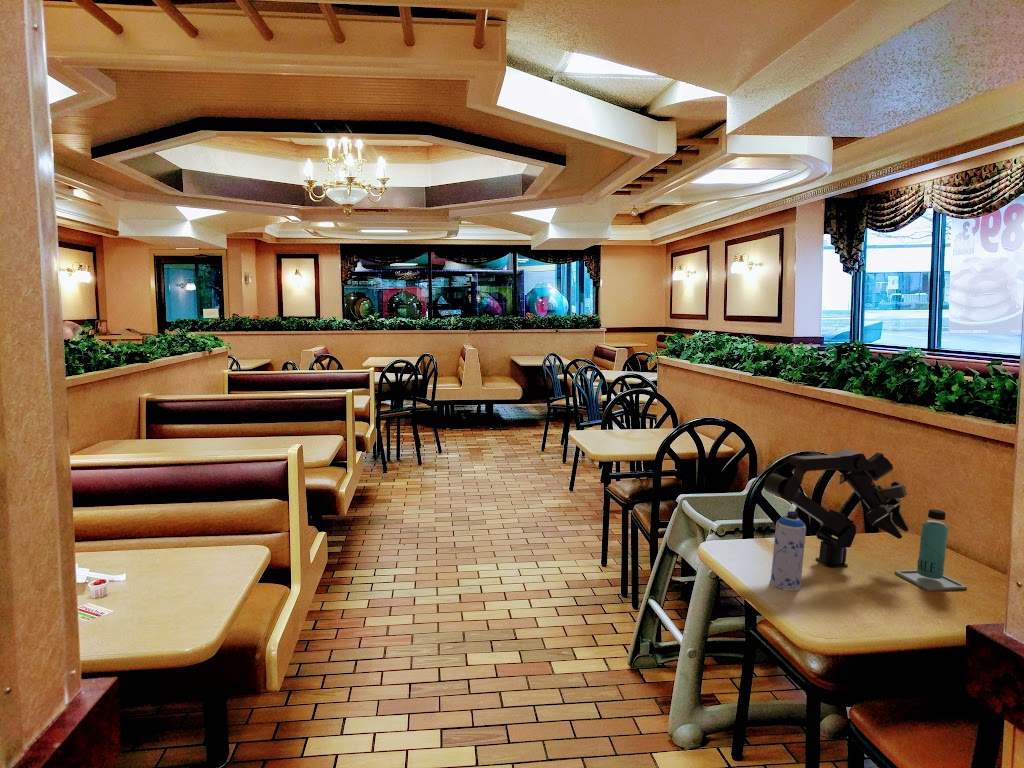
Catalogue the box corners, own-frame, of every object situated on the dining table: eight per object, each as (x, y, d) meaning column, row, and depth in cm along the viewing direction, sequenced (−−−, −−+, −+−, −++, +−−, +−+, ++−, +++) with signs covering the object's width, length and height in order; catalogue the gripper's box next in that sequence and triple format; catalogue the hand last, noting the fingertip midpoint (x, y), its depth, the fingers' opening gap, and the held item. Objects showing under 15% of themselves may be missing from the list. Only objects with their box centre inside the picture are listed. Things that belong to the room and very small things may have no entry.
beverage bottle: (940, 578, 192) (949, 509, 190) (944, 586, 186) (953, 515, 184) (914, 573, 195) (922, 505, 193) (917, 581, 189) (925, 511, 187)
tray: (928, 591, 184) (928, 587, 183) (894, 573, 195) (895, 570, 195) (966, 589, 186) (967, 586, 186) (931, 572, 198) (931, 569, 198)
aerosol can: (787, 577, 188) (793, 507, 186) (807, 589, 181) (815, 515, 179) (763, 580, 186) (770, 508, 183) (783, 591, 178) (790, 517, 176)
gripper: (882, 478, 188) (923, 526, 182) (896, 468, 203) (935, 512, 197) (848, 500, 194) (887, 547, 188) (864, 488, 208) (901, 532, 203)
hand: (904, 534), depth 194 cm, fingers open, 9 cm apart
